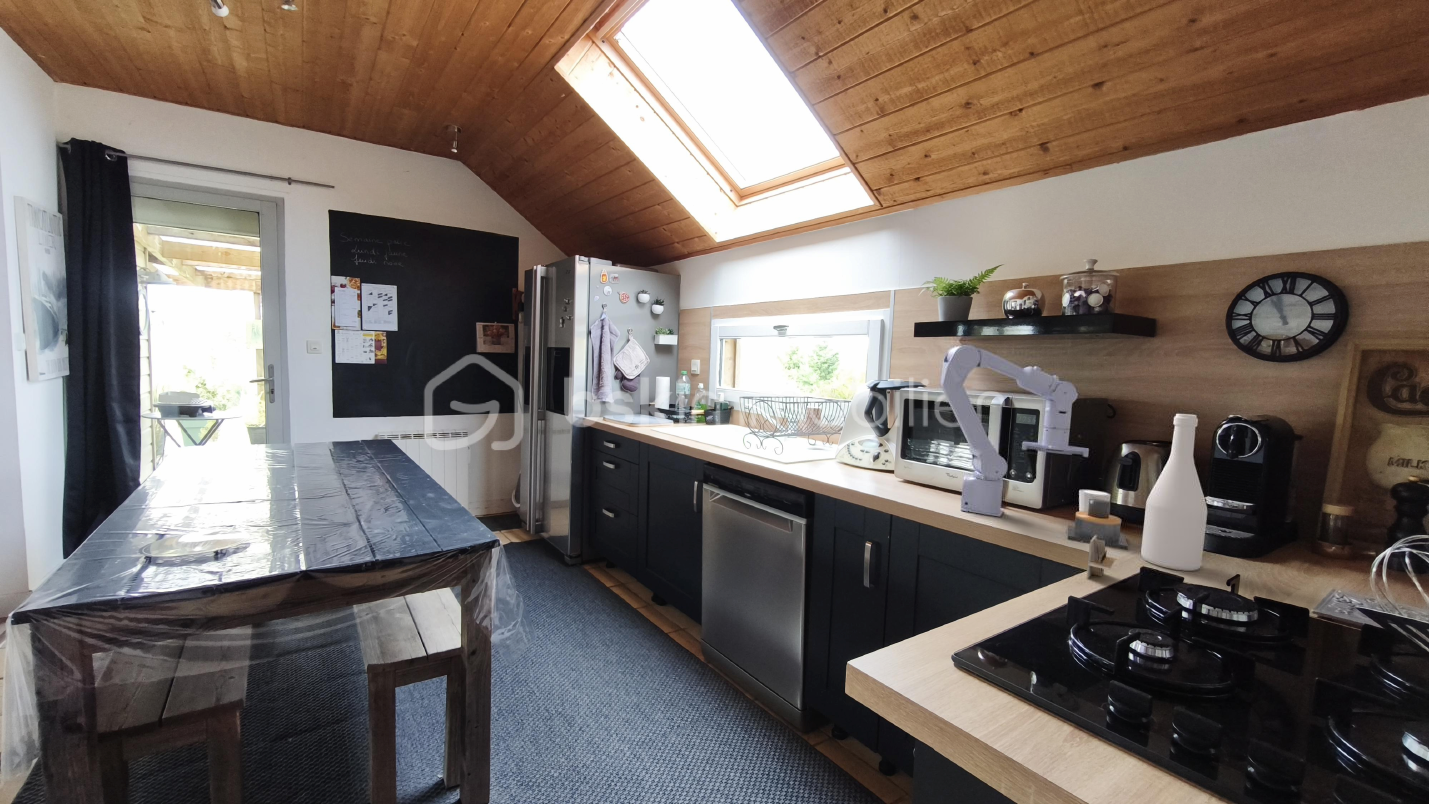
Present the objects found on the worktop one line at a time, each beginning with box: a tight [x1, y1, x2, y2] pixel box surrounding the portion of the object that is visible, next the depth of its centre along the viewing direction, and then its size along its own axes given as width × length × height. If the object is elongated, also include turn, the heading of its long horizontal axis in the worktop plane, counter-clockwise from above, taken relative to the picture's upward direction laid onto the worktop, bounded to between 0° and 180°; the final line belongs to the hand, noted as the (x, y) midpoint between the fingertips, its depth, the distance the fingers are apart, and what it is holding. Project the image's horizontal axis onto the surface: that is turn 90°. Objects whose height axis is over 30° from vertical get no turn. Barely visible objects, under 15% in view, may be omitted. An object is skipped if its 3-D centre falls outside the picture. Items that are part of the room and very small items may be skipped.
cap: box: [1075, 499, 1122, 525], centre depth 132 cm, size 9×9×7 cm
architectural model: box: [1086, 535, 1116, 580], centre depth 106 cm, size 3×7×7 cm, turn 139°
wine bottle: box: [1140, 413, 1208, 572], centre depth 116 cm, size 10×10×30 cm
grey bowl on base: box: [1067, 516, 1129, 551], centre depth 132 cm, size 11×11×4 cm
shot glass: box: [1078, 489, 1111, 511], centre depth 150 cm, size 7×7×7 cm
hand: (1051, 480), depth 149 cm, fingers open, 7 cm apart
